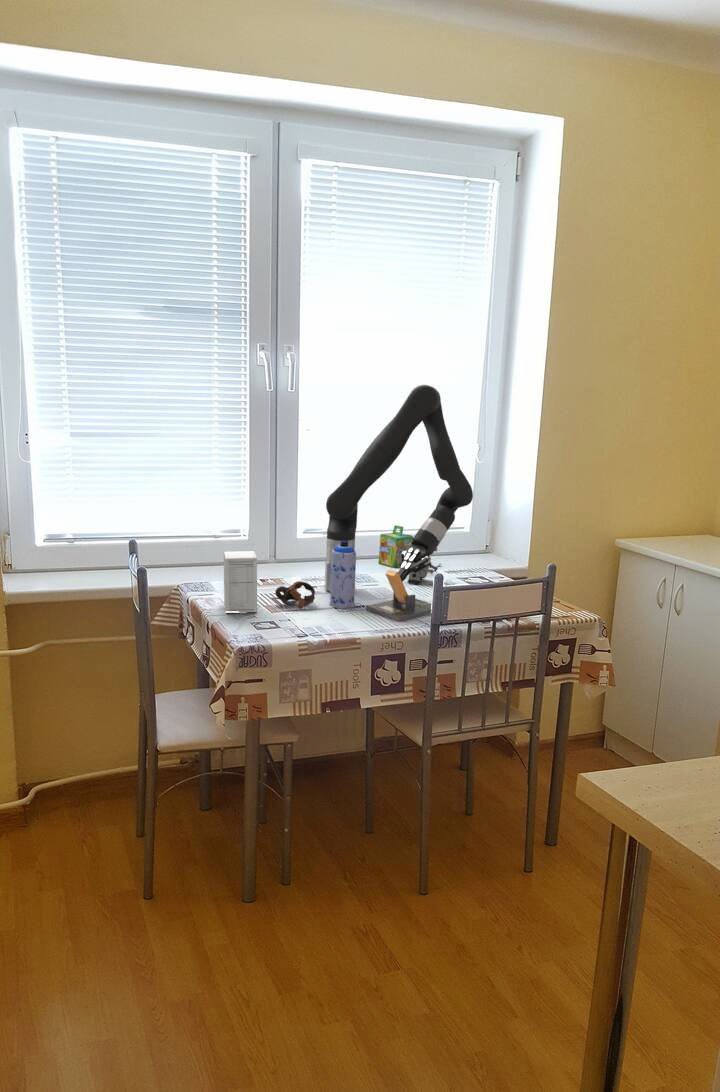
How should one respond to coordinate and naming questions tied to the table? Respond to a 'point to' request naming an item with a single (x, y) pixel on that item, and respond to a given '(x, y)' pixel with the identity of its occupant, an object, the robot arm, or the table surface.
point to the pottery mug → (296, 594)
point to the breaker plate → (401, 608)
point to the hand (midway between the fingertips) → (398, 580)
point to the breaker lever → (397, 586)
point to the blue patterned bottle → (343, 576)
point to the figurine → (421, 571)
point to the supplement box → (240, 581)
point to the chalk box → (393, 546)
